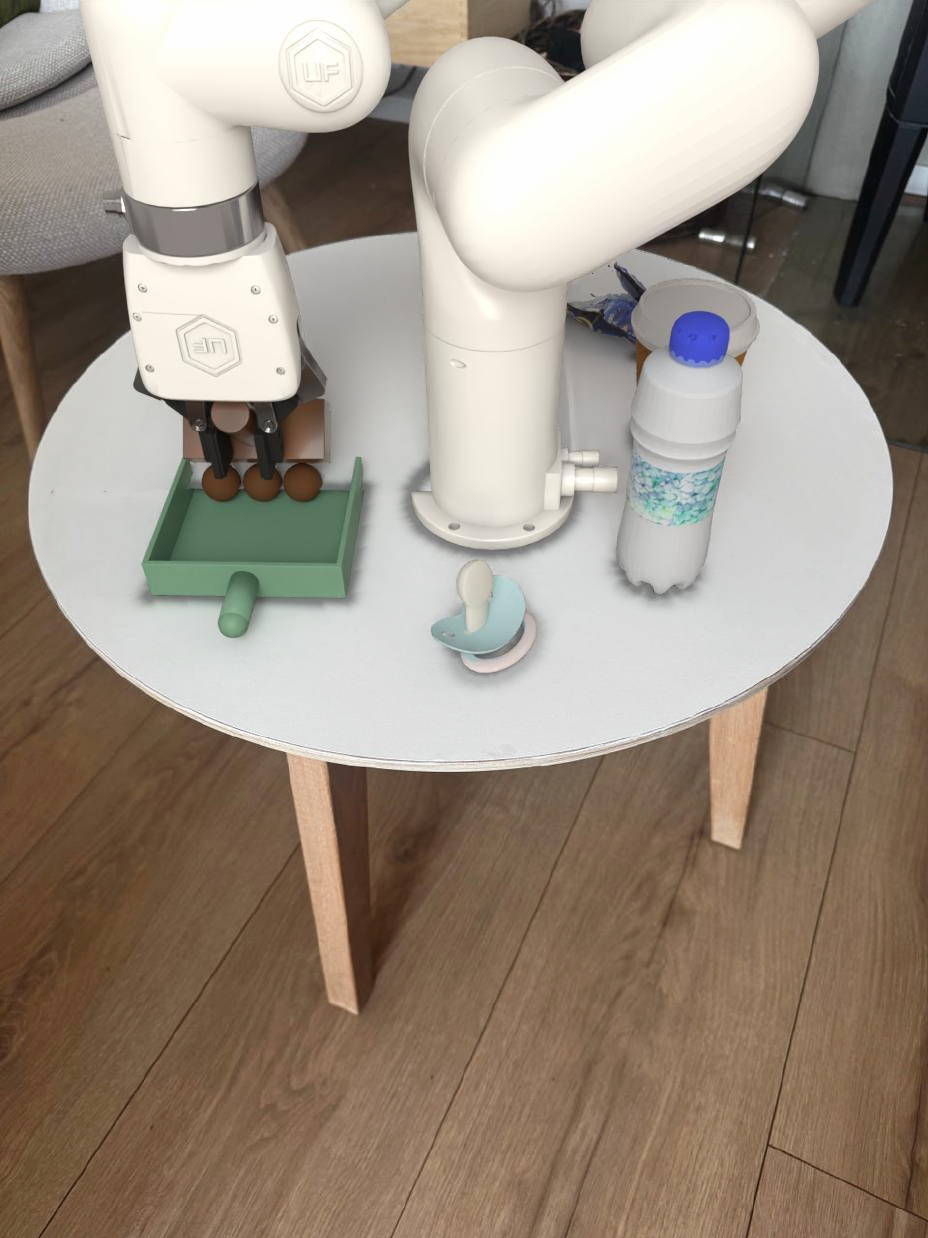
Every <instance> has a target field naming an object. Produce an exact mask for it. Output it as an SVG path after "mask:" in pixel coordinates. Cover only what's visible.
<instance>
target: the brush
mask: <svg viewBox="0 0 928 1238" xmlns="http://www.w3.org/2000/svg"><path fill="white" fill-rule="evenodd" d="M331 412H332V411H331V404H330V403H329V401H327V400H326V399H325V398H321V397H318V398H316V399H314V400H311V401H309V402H307V403H302V404H300V405H298V406H297V407H296V409H295V410H294V411H293V412H291V413H290V414H289V415H288V416H287V417H286V418H285V419H284V420H283V421H282V422H281V423H280V424H281V430H282V436H283V442H284V451H285V452H284V459H283V463H282V464H297V463H307V464H330V463H331V429H332V427H331V422H332V421H331V417H332V416H331V415H332V414H331ZM211 419H212V421H213V423H214V425H215V426H216V427H217V428H218V429H219V430H221V431H222V432H224V433H226V434H228V435H229V436H230V438H231V443H232V448H233V458H232V461H231V464H256V463H258V459H257V454H256V448H255V443H254V431H255V428H256V425H257V422H256V421H257V415H256V411H255V408H254V404H253V402H230V401H215V402H214V403H213V405H212V408H211ZM182 457H183V459H186V460H188V461H190V463H195V464H197V463H198V464H201V463H202V464H204V463H205V464H211V462H206V461H205V459H204V455H203V450H202V446H201V442H200V437H199V433H198V432H197V431H195V430H193V429H192V428H191V427H190V425H189V420H187V419H186V418H185V417H183V416H182Z"/></svg>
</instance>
